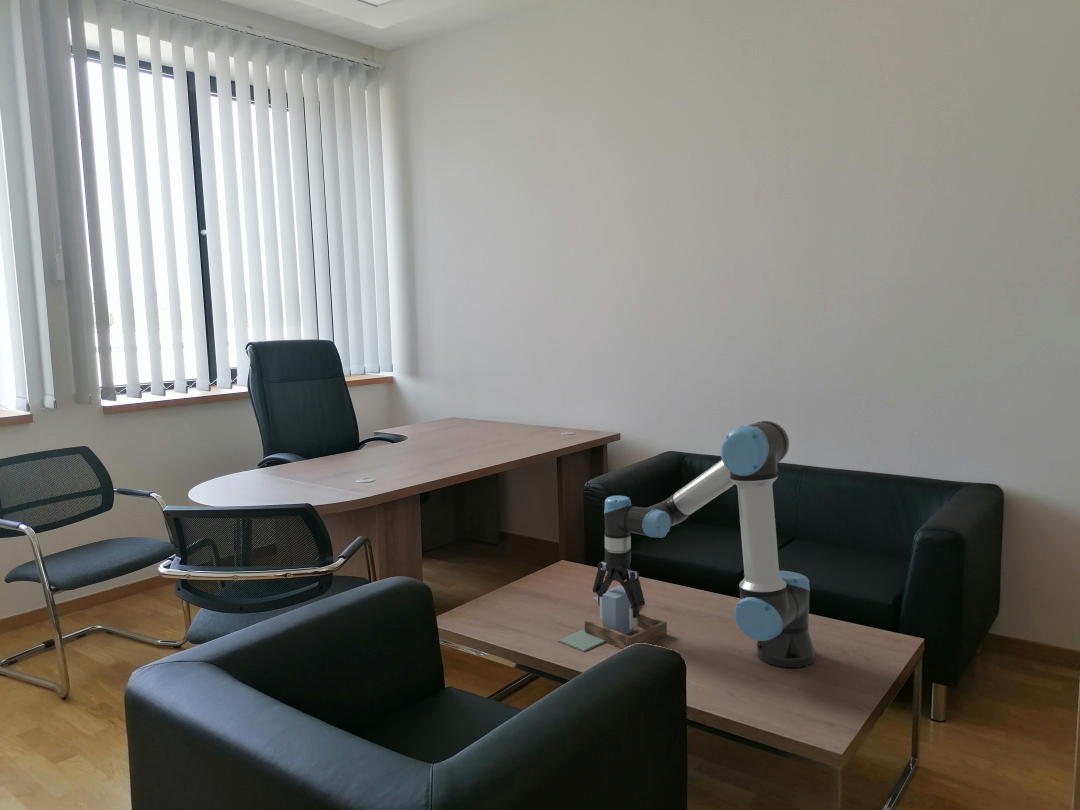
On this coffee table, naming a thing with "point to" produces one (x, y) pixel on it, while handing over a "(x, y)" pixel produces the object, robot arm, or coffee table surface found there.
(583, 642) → the felt pad
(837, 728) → the coffee table surface
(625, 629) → the block
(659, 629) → the shelf bay
